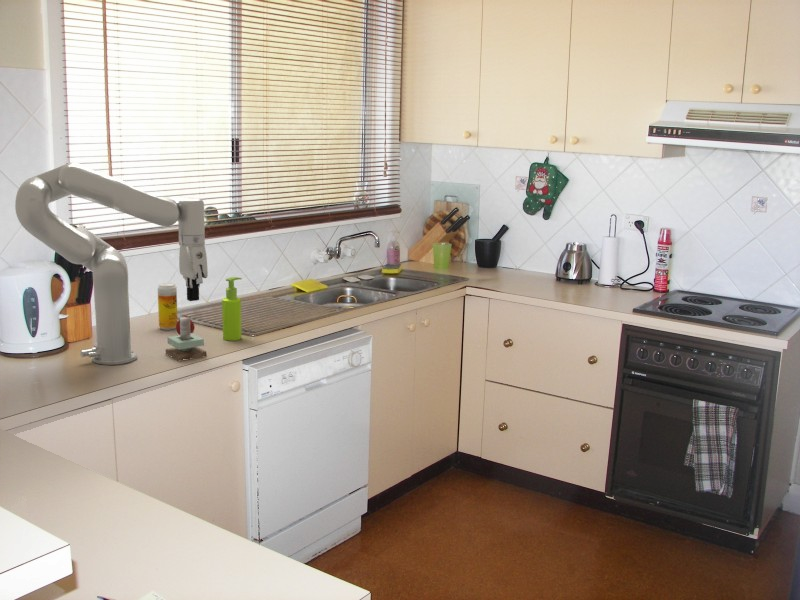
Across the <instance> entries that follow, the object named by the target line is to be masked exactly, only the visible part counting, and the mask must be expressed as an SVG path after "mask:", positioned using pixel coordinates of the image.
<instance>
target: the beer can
mask: <svg viewBox="0 0 800 600" xmlns="http://www.w3.org/2000/svg"><path fill="white" fill-rule="evenodd" d="M177 293H178V292H177V286H176V283H173V282H161V283H159V284H158V286H157V307H158V326H159V328H160V329H161V330H165V331H168V330H169V331H170V330H176V324H177V322H178V321H179V320H178V319H179V318H178V297H177V296H178V294H177Z"/></svg>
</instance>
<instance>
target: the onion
mask: <svg viewBox="0 0 800 600" xmlns="http://www.w3.org/2000/svg"><path fill="white" fill-rule="evenodd" d="M182 317H188V314H187V313H186V314H185V313H184V315H183V316H182ZM195 327H196V326H195V323H194V321H193V320H192V319H191V318H190V332H191V333H192V334H194V332H195ZM175 332H176V333H177V334H178V335H180V319H179V320H178V322H177V324H176V328H175Z"/></svg>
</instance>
